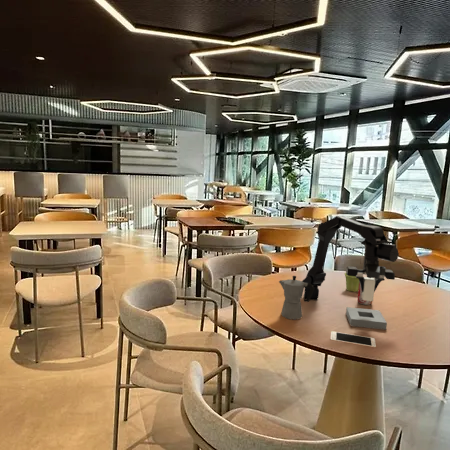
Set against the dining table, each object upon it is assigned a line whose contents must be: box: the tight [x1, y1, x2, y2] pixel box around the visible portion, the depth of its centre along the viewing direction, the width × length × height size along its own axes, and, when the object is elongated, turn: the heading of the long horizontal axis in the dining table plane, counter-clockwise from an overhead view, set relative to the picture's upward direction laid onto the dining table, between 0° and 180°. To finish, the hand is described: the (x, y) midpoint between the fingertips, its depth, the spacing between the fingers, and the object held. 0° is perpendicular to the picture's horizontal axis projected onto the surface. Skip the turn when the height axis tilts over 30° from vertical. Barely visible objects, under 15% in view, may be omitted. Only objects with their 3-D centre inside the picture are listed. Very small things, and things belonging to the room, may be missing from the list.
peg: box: [362, 276, 375, 302], centre depth 158 cm, size 4×4×9 cm
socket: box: [345, 306, 388, 331], centre depth 160 cm, size 14×14×3 cm
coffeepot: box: [278, 275, 314, 321], centre depth 161 cm, size 15×9×18 cm, turn 68°
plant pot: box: [344, 272, 359, 293], centre depth 202 cm, size 9×9×9 cm
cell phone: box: [330, 330, 377, 348], centre depth 142 cm, size 8×16×1 cm, turn 72°
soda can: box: [357, 282, 373, 306], centre depth 182 cm, size 7×7×12 cm
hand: (367, 292), depth 158 cm, fingers closed on peg, 4 cm apart
